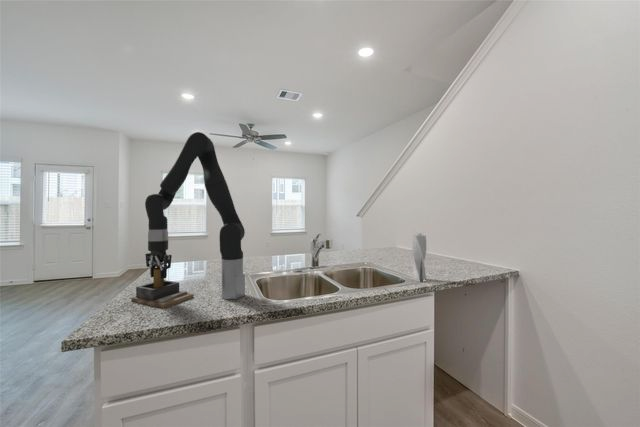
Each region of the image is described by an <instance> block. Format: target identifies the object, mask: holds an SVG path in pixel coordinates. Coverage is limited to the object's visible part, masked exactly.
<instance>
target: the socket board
mask: <svg viewBox="0 0 640 427" xmlns="http://www.w3.org/2000/svg"><path fill="white" fill-rule="evenodd" d="M153 283H154V281H153V282H150V283H146V284H142V285H138V286H136V287H135V296H133V297H130V298H131V299H130V301H131V302H133V303H138V304H142V305H147V306H151V307H155V308H160V309H166V308H168V307H171V306H173V305H176V304H179V303H181V302H184V301H187V300H190V299H192V298H194V293H190V292H188V291H186V290H182V291H180V282H177V281H171V280H165V279H164V285H165V286H163V287H159V288H156V289H152V287H153Z"/></svg>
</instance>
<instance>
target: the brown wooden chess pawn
mask: <svg viewBox="0 0 640 427" xmlns="http://www.w3.org/2000/svg"><path fill="white" fill-rule="evenodd" d="M156 255H157V254H155V256H156ZM164 280H165V278H164V279H161V269H160V266H158V263H156V268H154V277H153V282H154V283H153V282H152V283H153V287H152V289H156V288H159V287H163V286H165V285H164Z"/></svg>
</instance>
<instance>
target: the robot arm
mask: <svg viewBox="0 0 640 427" xmlns="http://www.w3.org/2000/svg"><path fill="white" fill-rule="evenodd" d="M197 158H198V160H199V162H200V164H201V167H202V171H203V183H204V188H205V191H206V194H207V195H208V196H207V197H208V198H209V200H210V202H211V204H212V205H213V207H214V208H215V209H216V211H217V213H218V214H219V216H220V218H221V221H222V223H223V226H222V227H221V228H220V231H219V253H220V255H221V298H222V299H223V300H238V299H240V298H242V297H244V296H246V275H245V274H244V252H243V250H242V240H244V237H245V235H246V232H245V227H244V225H243V222H242V221H241V218H240V217H239V215H238V213H237V210H236V207H235V204H234V200H233V198H232V195H231V192H230V189H229V185H228V183H227V181H226V178H225V175H224V173H223V172H222V169H221V167H220V164H219V160H218V156H217V154H216V150H215V145H214V143H213V141H212V139H211V138H210V137H208V136H207V135H206V134H205V133H203V132H201V131H196V132H193V133H191V134H190V135H189V136H188V138H187V139H186V142H185V143H184V146H183V148H182V150H181V152H180V153H179V156H178V158H177V159H176V161H175V162H174V164H173V165H172V167H171V168H170V169H169V171H168V173H166V175H165V176H164V178H163V179H162V181H161V183H160V185H159V187H160V190H159V192H158V193H151V194H149V195H148V196H147V197H146V198H145V205H144V206H145V207H144V208H145V211H146V216H147V219H148V230H147V231H148V232H147V251H149V253H145V254H144V256H145V266H146V267H147V268H149V271H150V272H149V274H150V278H154V268H157V267H156V263H158V266H160V269H161V279H164V280H165V279H167V277H168V276H167V273H168V269H171V266H172V254H167V250H169V229H168V217H167V216H166V215H165V214H164V210H166V209H168V208H169V207H170V205H171V204H172V203H173V201H174V199H175V197H176V194H177V192H178V191H179V189H180V188H181V187H182V185H183V184H184V183H185V181H186V179H187V177H188V175H189V171H190V168H191V166H192V165H193V163H194V161H195V160H196V159H197ZM155 254H157V255H156V256H155Z"/></svg>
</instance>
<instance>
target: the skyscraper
mask: <svg viewBox="0 0 640 427" xmlns="http://www.w3.org/2000/svg"><path fill="white" fill-rule="evenodd" d="M412 233H413V236H412V244H411V246H412V258H413V268H412V276H411V277H412V278H413V279H417V280H420V282H419V283H424V282H423V280H424V279H426V280H427V275H426V273H427V272H426V266H425V261H426V260H425V259H426V255H427V235H426V233H424V232H423V233H418V232H416V231H415V230H413V231H412ZM412 278H411V279H412Z"/></svg>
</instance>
